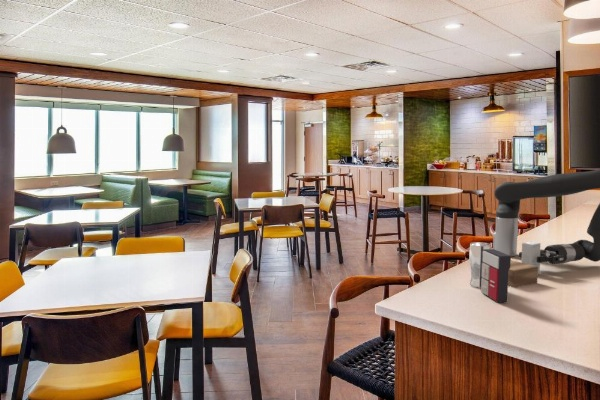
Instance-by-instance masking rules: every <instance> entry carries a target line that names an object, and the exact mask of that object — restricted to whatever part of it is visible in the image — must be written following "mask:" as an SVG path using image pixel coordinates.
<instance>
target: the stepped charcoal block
mask: <svg viewBox="0 0 600 400" xmlns="http://www.w3.org/2000/svg"><path fill="white" fill-rule="evenodd" d="M511 257H512V256H509V255H507V254H505V253H502V252H500V251H497V250H495V249H493V248H490V249H484V250H483V263H482V279H481V288H480V292H481V293H482V294H483V293H484V294H483V295H484V296H486V295H487V297H488V296H489V297H488V298H489V299H491V298H492V299H491V300H492V301H494V300H495V302H496V301H497V302H498V303H499V304H502V303H503V304H505V303H504V302H507V303H508V293H509V292H508V288H509V286H508V270H509V269H510V263H511V260H512V259H511ZM497 302H496V303H497Z"/></svg>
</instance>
